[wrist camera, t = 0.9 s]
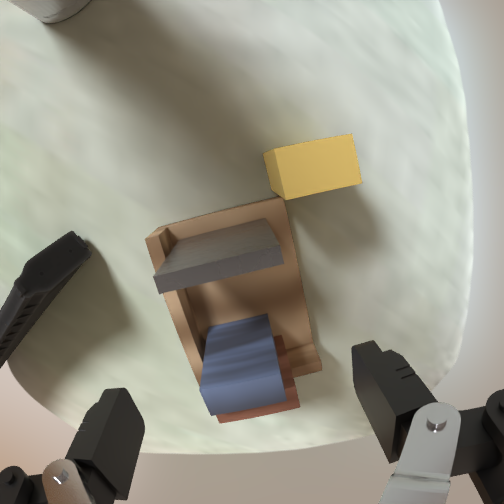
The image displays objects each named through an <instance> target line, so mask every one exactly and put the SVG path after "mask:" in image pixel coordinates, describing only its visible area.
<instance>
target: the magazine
mask: <svg viewBox="0 0 504 504" xmlns="http://www.w3.org/2000/svg"><path fill="white" fill-rule="evenodd" d="M87 247H88V246H87V245H86V243H85V242H84V241H83V240H82V239H81V238H80V236H77V235H76V234H75V233H74V231H70V232H68V233H67V234H65V235H64V236H63V237H61V238H60V239H58V240H57V241H55V242H54V243H52V244H51V245H49V246H48V247H47V248H45V249H44V250H42V251H41V252H39V253H38V254H37V255H35V256H34V257H33V258H31V259H30V260H28V261H27V263H26V264H25V266H24V268H23V271H22V273H21V275H20V277H19V278H17V279H16V280H15V282H14V286H13V288H12V290H11V292H10V294H9V296H8V297H7V299H6V301H5V303H4V305H3V306H2V308H1V310H0V368H1V367H2V366H3V364H4V363H5V361H6V360H7V359H8V357H9V356H10V355H11V353H12V352H13V351H14V349H15V348H16V347H17V345H18V344H19V343H20V342H21V340H22V339H23V338H24V336H25V335H26V334H27V332H28V331H29V330H30V328H31V327H32V326H33V325H34V323H35V322H36V321H37V319H38V318H39V317H40V316H41V314H42V313H43V312H44V310H45V309H46V308H47V307H48V305H49V304H50V303H51V302H52V300H53V299H54V298H55V297H56V295H57V294H58V293H59V292H60V290H61V289H62V288H63V287H64V285H65V284H66V283H67V282H68V281H69V279H70V278H71V277H72V276H73V274H74V273H75V272H76V271H77V270H78V268H79V267H80V266H81V265H82V264H83V263H84V262H85V261H86V260H87V259H88V258H89V257H90V256H91V254H92V253H91V251H90V250H89V249H88V248H87Z"/></svg>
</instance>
